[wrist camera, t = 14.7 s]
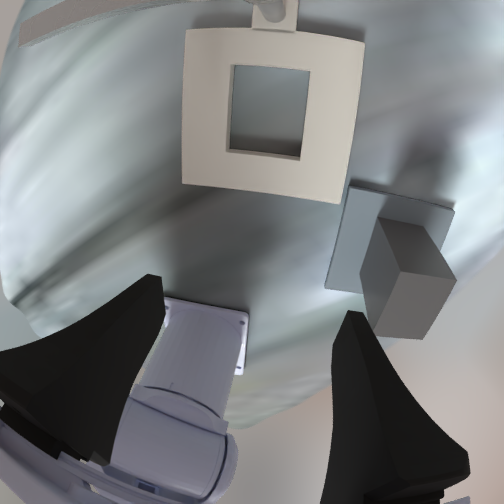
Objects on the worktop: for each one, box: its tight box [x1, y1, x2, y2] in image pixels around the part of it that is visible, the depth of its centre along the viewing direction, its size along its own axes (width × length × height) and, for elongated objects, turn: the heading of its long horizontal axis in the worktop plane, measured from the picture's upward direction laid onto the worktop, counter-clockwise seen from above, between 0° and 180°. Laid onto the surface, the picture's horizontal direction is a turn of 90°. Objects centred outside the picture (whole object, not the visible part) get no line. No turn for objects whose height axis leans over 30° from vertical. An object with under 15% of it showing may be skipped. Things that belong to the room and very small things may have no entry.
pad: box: [325, 185, 455, 294], centre depth 19 cm, size 8×8×1 cm
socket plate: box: [182, 0, 365, 204], centre depth 13 cm, size 12×10×6 cm
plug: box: [359, 217, 457, 340], centre depth 16 cm, size 5×4×6 cm
